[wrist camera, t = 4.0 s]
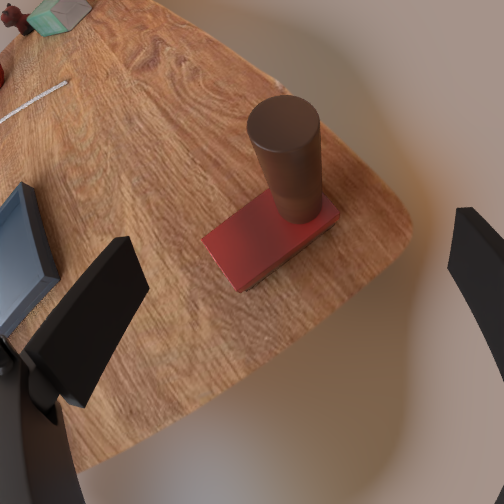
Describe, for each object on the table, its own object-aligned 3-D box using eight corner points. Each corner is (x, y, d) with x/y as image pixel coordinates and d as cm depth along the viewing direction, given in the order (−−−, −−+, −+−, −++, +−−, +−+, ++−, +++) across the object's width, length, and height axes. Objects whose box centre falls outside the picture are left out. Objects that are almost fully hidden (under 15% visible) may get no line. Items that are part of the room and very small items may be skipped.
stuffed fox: (52, 15, 48) (28, -12, 36) (19, 45, 48) (-7, 20, 37) (52, 9, 50) (30, -17, 39) (20, 36, 51) (-3, 13, 39)
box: (62, 15, 46) (46, -4, 38) (93, 8, 42) (76, -15, 35) (41, 37, 45) (23, 19, 38) (69, 32, 41) (49, 10, 34)
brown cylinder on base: (301, 182, 24) (282, 74, 13) (338, 225, 22) (350, 133, 11) (213, 248, 24) (128, 184, 13) (245, 295, 23) (174, 264, 12)
